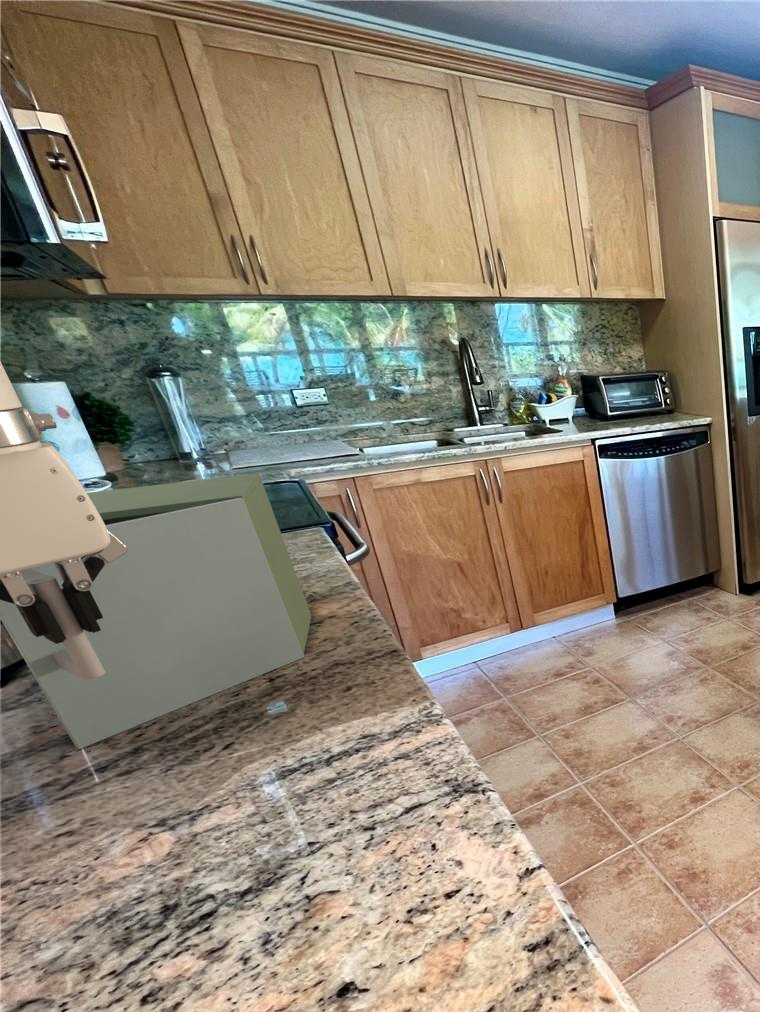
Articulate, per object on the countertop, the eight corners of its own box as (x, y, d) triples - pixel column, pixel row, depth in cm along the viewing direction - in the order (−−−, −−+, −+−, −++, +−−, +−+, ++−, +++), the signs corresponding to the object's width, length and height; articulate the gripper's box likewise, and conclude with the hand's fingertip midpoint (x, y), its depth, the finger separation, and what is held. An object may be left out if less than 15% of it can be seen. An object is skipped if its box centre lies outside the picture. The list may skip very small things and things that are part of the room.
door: (332, 667, 81) (272, 503, 72) (105, 766, 63) (-10, 565, 55) (301, 656, 84) (239, 497, 75) (75, 747, 66) (-38, 554, 58)
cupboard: (303, 655, 84) (241, 495, 76) (77, 706, 74) (-25, 528, 65) (311, 616, 96) (259, 473, 87) (117, 655, 86) (35, 498, 77)
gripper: (79, 420, 61) (161, 597, 68) (-209, 449, 48) (-70, 663, 55) (113, 424, 57) (195, 610, 65) (-187, 456, 45) (-42, 683, 52)
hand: (72, 633), depth 60 cm, fingers closed on door
